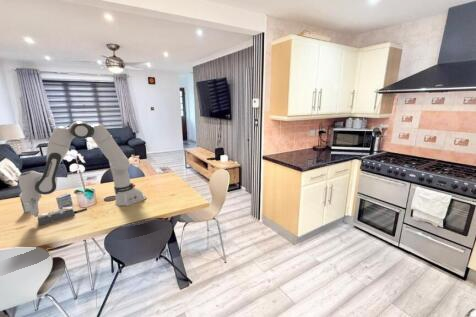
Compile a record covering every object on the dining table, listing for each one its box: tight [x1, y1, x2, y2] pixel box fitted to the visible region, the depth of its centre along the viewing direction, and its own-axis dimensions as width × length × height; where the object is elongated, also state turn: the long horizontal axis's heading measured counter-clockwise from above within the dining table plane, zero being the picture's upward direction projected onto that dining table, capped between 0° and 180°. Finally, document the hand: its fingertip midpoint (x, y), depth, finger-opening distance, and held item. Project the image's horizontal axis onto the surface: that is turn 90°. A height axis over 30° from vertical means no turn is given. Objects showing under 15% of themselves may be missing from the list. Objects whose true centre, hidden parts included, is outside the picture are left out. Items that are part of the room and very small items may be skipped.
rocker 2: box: [49, 208, 61, 216], centre depth 152 cm, size 5×4×2 cm
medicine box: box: [55, 193, 74, 209], centre depth 170 cm, size 8×4×9 cm, turn 160°
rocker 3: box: [63, 206, 74, 211], centre depth 156 cm, size 5×4×2 cm
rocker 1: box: [37, 212, 49, 219], centre depth 148 cm, size 5×4×2 cm
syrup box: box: [18, 193, 31, 213], centre depth 164 cm, size 6×6×14 cm
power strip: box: [37, 205, 88, 226], centre depth 156 cm, size 27×8×4 cm, turn 132°
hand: (36, 215), depth 145 cm, fingers closed
